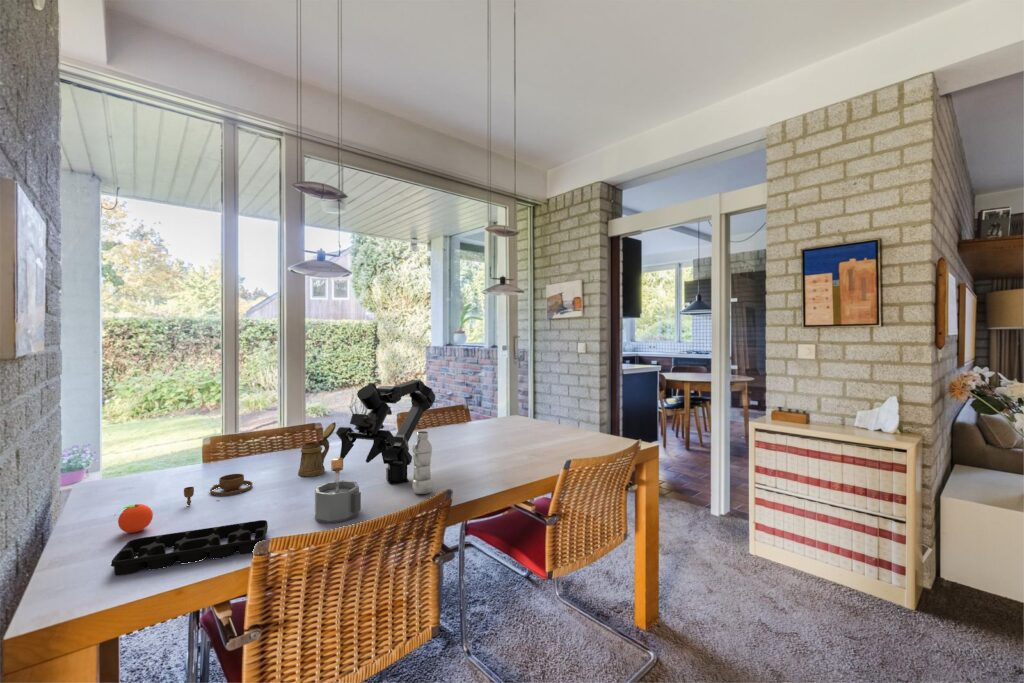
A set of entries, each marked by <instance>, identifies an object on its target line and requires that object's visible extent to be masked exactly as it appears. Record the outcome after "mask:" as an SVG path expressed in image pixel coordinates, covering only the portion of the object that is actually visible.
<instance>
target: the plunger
mask: <svg viewBox="0 0 1024 683" xmlns="http://www.w3.org/2000/svg"><path fill="white" fill-rule="evenodd" d="M330 462H331V463H330V465H331V467H330V470H331V472H334V482H335V489H331V490H327V491H325V492H323V493H330V494H333V493H340V492H346V491H349V490H351V489H347V488H339V481H340V472H341V471H343V470H344V459H343V458H340V457H334V458H331V460H330Z"/></svg>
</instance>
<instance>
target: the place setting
mask: <svg viewBox="0 0 1024 683" xmlns="http://www.w3.org/2000/svg"><path fill="white" fill-rule="evenodd" d="M218 482H219V483H218V485H217V484H213V486H212V487H210V489H209V492H210V494H211V495H213V494H215V495H214V496H216V495H227V496H231V495H230V494H234V495H237V494H236V493H239V494H241V493H240V492H242V493H245V492H247V491H249V490H251V488H253V485H254V484H253V482H252V481H250V480H245V474H243V473H232V474H231V473H229V474H226V475H223V476H221V477H219V479H218ZM243 484H248V485H250V486H248V485H247V487H244V488H241V489H240V487H242V486H243ZM218 487H220V488H219V489H221V490H224V491H212V490H214V489H216V488H218ZM238 488H239V489H238ZM237 489H238V490H237ZM248 489H249V490H248ZM233 490H235V491H233ZM246 490H247V491H246ZM227 491H230V492H227ZM244 491H245V492H244ZM194 493H195V486H188V487H184V488H183V496H184V498H187V500H186V504H187V505H191V503H192V500H191V498H192V497H193V496H194Z"/></svg>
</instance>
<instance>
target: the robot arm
mask: <svg viewBox="0 0 1024 683" xmlns="http://www.w3.org/2000/svg"><path fill="white" fill-rule="evenodd" d="M356 395H357V398H358V400H359V401H360V402H361V404H362V405H363V406H364V408H365V409H367V410H369V411H368V412H367V414H363V413H352V414H351V417H350V422H349V424H350V425H354V426H355V429H356V430H357V431H354V430H353V429H352V427H350V426H349V427H348V426H340V427H338V428H337V429H336V432H335V434H336V436H338V438H339V439H340V440H341V447H340V454H339V458H343V460H344V459H345V458H346V457H347V456H348V454H349V453H350V451H351V450H352V448H353V447H354V446H355V445H354V443H355V442H356V441H357V439H358V440H366V441H367V440H368V441H372V442H373V443H372V446H371V448H370V450H369V452H368V454H367V456H366V459H365V463H367V464H368V463H370V462H371V461H372V460H374V459H375V458H376V457H378V455H380V454H381V457H382V461H383V465H387V467H386V469H385V470H386V471H385V473H386V474H385V479H386V480H387V482H388V483H389V484H390V485H394V483H395V484H399V483H401V482H402V483H406V481H408V482H409V479H408V466H410V465H411V463H412V460H413V455H412V454H411V453H410V452H409V450H410V448H409V447H410V446H409V441H410V440H411V438H412V435H413V433H414V432H415V429H416V427H417V425H418V423H419V421H420V420H421V418H422V415H423V414H424V413H425V412H426V411H428V410H429V409H431V408H432V406H433V405H434V403H435V401H436V394H435V392H434V391H433V389H432V388H430V387H429V386H427V384H425V383H424V382H423V380H418V379H410V380H409V381H406V382H403V383H400V384H396V385H394V386H393V385H381V386H378V387H377V386H376V384H375V383H374V382H368V384H367V385H365V386H363V387H361V388H360V389H358V391H357V393H356ZM407 395H409V397H410V398H411V399H410V401H411V407H410V408H409V411H408V412H407V414H406V415H405V418H404V420H403V422H402V424H401V425H400V427H399V429H398V431H397V432H396V435H393V433H392V432H391V431H390V430H385V429H384V427H385V425H384V422H385V420H386V418H387V416H388V415H389V416H391V415H392V413H393V412H392V410H391V406H390V405H388V404H397V403H398V402H400V401H401V400H402V398H403V397H404V396H407Z"/></svg>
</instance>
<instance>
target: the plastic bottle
mask: <svg viewBox="0 0 1024 683" xmlns="http://www.w3.org/2000/svg"><path fill="white" fill-rule="evenodd" d="M416 439H417V440H416V441H415V442H414V443H413V445H412V458H413V478H412V485H411V487H412V492H413V493H414V494H417V495H425V494H429V493H431V491H432V488H433V481H432V480H433V479H432V474H431V473H432V472H431V462H432V460H431V458H432V454H433V446H432V444H431V442H430V441H429V431H425V430H424V431H423V430H422V431H421V430H420V431H417V432H416Z"/></svg>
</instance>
